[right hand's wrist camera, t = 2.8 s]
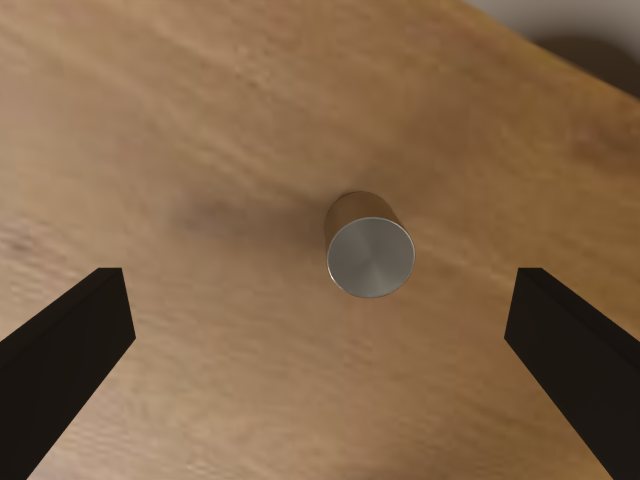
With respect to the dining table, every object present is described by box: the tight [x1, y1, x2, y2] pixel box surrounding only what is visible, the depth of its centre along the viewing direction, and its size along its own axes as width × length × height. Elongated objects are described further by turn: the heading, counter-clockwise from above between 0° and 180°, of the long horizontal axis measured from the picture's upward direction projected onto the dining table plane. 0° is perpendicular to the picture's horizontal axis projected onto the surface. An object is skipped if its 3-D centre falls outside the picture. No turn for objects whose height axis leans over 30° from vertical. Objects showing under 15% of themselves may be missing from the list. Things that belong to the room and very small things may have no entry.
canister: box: [325, 192, 415, 298], centre depth 18 cm, size 4×4×5 cm
